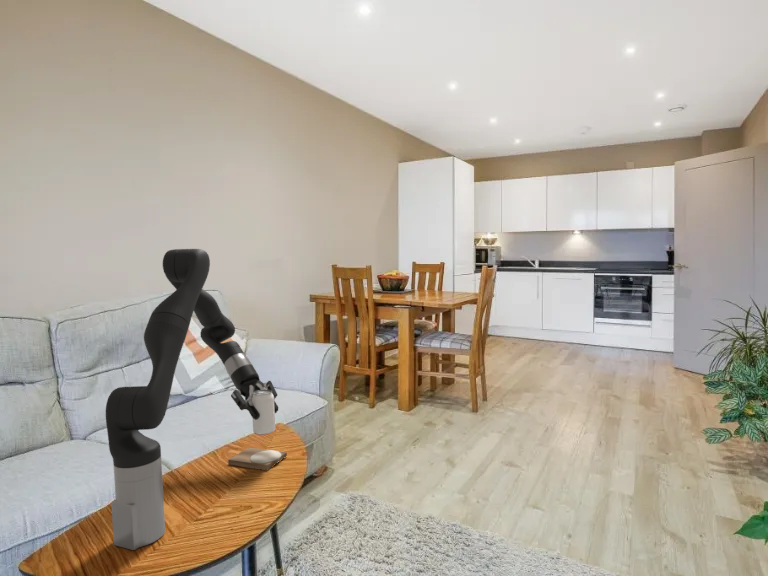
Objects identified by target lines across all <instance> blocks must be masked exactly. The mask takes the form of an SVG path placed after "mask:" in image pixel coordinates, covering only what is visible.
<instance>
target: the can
mask: <svg viewBox="0 0 768 576" xmlns="http://www.w3.org/2000/svg"><path fill="white" fill-rule="evenodd" d="M274 401H275V399H274V395H273V394H272V390H258V391H255V392H253V397H252V402H253V406H254V407H255V408H256V409H257V411H258V412H259V414H260V417H259V418H258V419H257V420H255V419H253V418H252V431H253V433H254V434H255V435H259V436H265V435H270V434H272V433H273V432H274V431H275V430H276V415H275V414H276V413H275V410H274Z"/></svg>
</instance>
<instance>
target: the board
mask: <svg viewBox="0 0 768 576" xmlns="http://www.w3.org/2000/svg"><path fill="white" fill-rule="evenodd" d="M286 456H287V457H288V453H287V452H285V451H278V450H274V449H264V448H257V447H247V448H246V449H244V450H243V451H241V452H239V453H237V454H235V455H233V456H232V457H230V458H229V459H228V460H227V462H228V465H229V466H235V467H242V468H248V469H254V468H255V469H254V470H260V469H262V470H261V471H266V470H267V471H269V470H270V469H271V468H270V467H272V466H273V465H274V464H276V463H277V462H278V461H280V460H281V459H283V458H284V457H286ZM287 457H286V458H287ZM283 460H284V459H283ZM276 465H277V464H276ZM273 467H274V466H273ZM273 467H272V468H273ZM269 468H270V469H269ZM268 469H269V470H268Z"/></svg>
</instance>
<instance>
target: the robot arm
mask: <svg viewBox="0 0 768 576" xmlns="http://www.w3.org/2000/svg"><path fill="white" fill-rule="evenodd" d="M210 262H211V260H210V256H209V254H208V252H207V251H206V250H204V249H202V248H201V249H200V248H179V249H178V248H176V249H175V248H174V249H170V250H167V251H166V252H165V253H164V255H163V258H162V270H163V273H164V275H165V277H166V279H167V280H168V281H169V283H170V284H171V285H172V286H173V287H174V289H175V290H174V292H172V293H171V294H170V295H169V296H167V297H166V298H165V299H164V300H162V301H161V302H160V303H159V304H158V305H157V306H156V307H155V308H154V309H153V310H152V313H151V314H150V317H149V319H148V322H147V324H146V327H145V330H144V333H143V341H144V345H145V348H146V351H147V354H148V356H149V358H150V360H151V364H152V373H151V377H150V379H149V382H148V384H147V385H141V386H139V385H138V386H137V385H136V386H120V387H119V386H118V387H117V388H114V389H113V390H112V392H110V394H109V395H108V397H107V400H106V406H105V424H106V432H107V433H106V434H107V440H108V449H109V453H110V455H111V457H112V461H113V462H112V463H113V464H112V465H113V475H114V476H113V478H114V479H113V480H114V494H115V499H114V500H112V501H111V506H110V507H111V521H112V522H111V523H112V536H113V539H112V540H113V546H116V547H120V548H124V549H128V550H131V551H135V550H137V549H139V548H141V547H144V546H148V545H150V544H153V543H154V542H156V541H158V540H159V539H160V538H162V537H163V535H165V533H166V523H165V521H166V520H165V519H166V517H165V503H164V502H165V501H164V488H163V487H164V483H163V466H162V465H163V464H162V451H161V450H162V449H161V448H162V447H161V445H160V442H159V441H157V440H156V439H154V438H150V437H148V436H146V435H144V434H143V433H141V432H140V431H143V430H144V431H145V430H148V431H149V430H154V429H157V428H158V427H159V426H160V425H161V424H162V422H163V420H164V418H165V417H166V416H165V415H166V413H167V409H168V405H169V400H170V396H171V391H172V388H173V387H172V386H173V381H174V376H175V373H176V369H177V366H178V362H179V360H180V359H179V358H180V355H181V353H182V350H183V346H184V343H185V340H186V338H187V335H188V331H189V329H190V323H191V320H192V316H193V315H194V314H195V316H196V317H197V320H198V322H199V323H200V324H201V326H202V328H201V330H200V338H201V340H202V341H203V343H204V344H206V345H207V346H208V347H209V348H210V349H211V350H213V352H214V353H215V354H216V355H217V356H218V357H219V359H220V361H221V362H222V364H223V366H224V368H225V370H226V373H227V374H228V376H229V378H230V380H231V381H232V383H233V385H234V387H235V388H236V389H234V390H233V392H232V393H231V394H230V397H231V398H232V400H233V402H234V403H235V405H236V406H237V407H238V408H239V410H241V411H244V410H246V411H248V412H249V414H250V416H251V418H252V420H253V419H255V420H257V419H258V418H259V417H260V414H259V412H258V411H257V409H256V408H255V407H254V406H253V402H252V397H253V392H255V391H258V390H272V394H273V395H274V410H275V414H277V413H278V411H279V406H278V404H277V402H276V401H275V399H276V398H277V396H278V392H277V391H276V388H275V386H274V385H273V382H272V381H271V380H267V382H263V381H261V380H260V376H259V374H258V372H257V370H256V368H255V367H254V365H253V363H252V362H251V360H250V359H249V358H248V356H246V353H244V351H243V349H242V348H241V345H240V344H239V343H238V342H237V341H235V340H230V341H226V340H228V339H230V338H232V337H233V336H234V335H235V332H236V328H235V325H234V323H233V322H232V321H231V320H230V319H229V318H228V317H227V316H225V315H224V314H223V312H222V310H221V309H220V305H218V302H217V301H216V299H215V298H214V297H213V296H212V295H211V294H210V293H209V291H208V292H207V291H206V290H204V285H205V283H206V281H207V279H208V276H209V272H210V266H211V263H210ZM193 313H194V314H193ZM225 341H226V342H225Z"/></svg>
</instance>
